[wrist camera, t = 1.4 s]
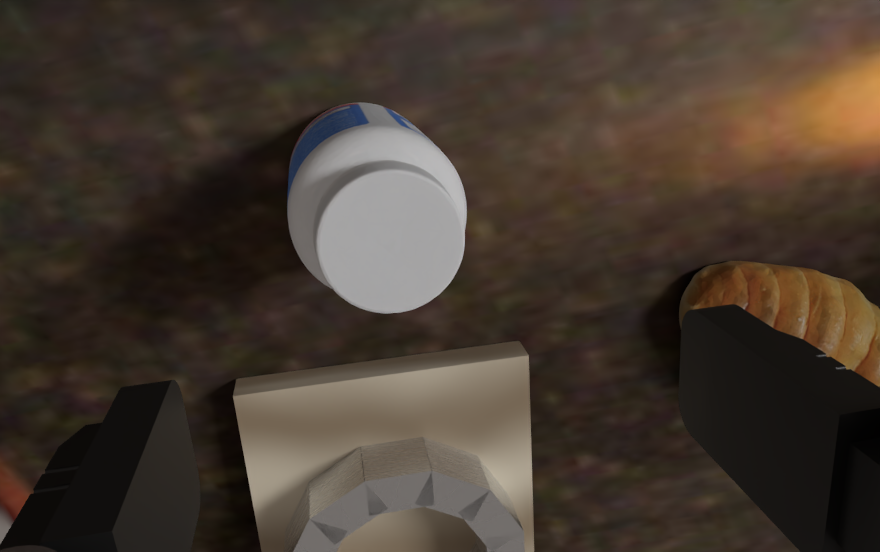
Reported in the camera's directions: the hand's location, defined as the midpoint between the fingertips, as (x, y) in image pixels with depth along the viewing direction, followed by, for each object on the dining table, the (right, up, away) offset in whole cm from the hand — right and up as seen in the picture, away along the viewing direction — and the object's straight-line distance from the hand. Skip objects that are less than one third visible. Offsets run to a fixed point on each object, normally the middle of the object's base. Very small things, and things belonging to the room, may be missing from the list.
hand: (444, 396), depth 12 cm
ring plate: (-2, -9, +22) cm, 24 cm away
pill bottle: (-3, +6, +17) cm, 18 cm away
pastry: (+15, -1, +23) cm, 27 cm away
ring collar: (-2, -10, +21) cm, 23 cm away
